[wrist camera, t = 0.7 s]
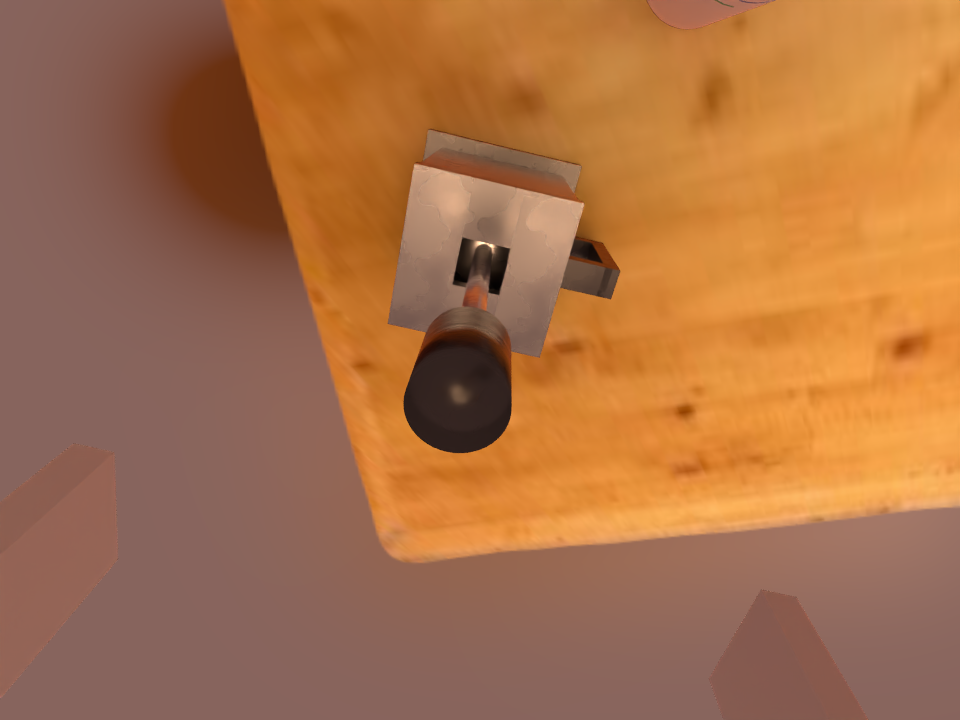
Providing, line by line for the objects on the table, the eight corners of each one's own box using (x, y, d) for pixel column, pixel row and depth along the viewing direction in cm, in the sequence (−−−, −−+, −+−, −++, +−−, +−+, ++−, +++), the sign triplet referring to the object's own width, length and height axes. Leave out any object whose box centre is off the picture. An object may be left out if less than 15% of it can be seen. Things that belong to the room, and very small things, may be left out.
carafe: (617, 174, 45) (657, 202, 33) (573, 314, 50) (594, 384, 38) (430, 129, 45) (399, 140, 32) (404, 275, 50) (370, 334, 37)
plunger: (555, 205, 38) (606, 326, 18) (525, 315, 41) (540, 521, 21) (438, 178, 37) (356, 270, 17) (417, 290, 40) (328, 477, 21)
